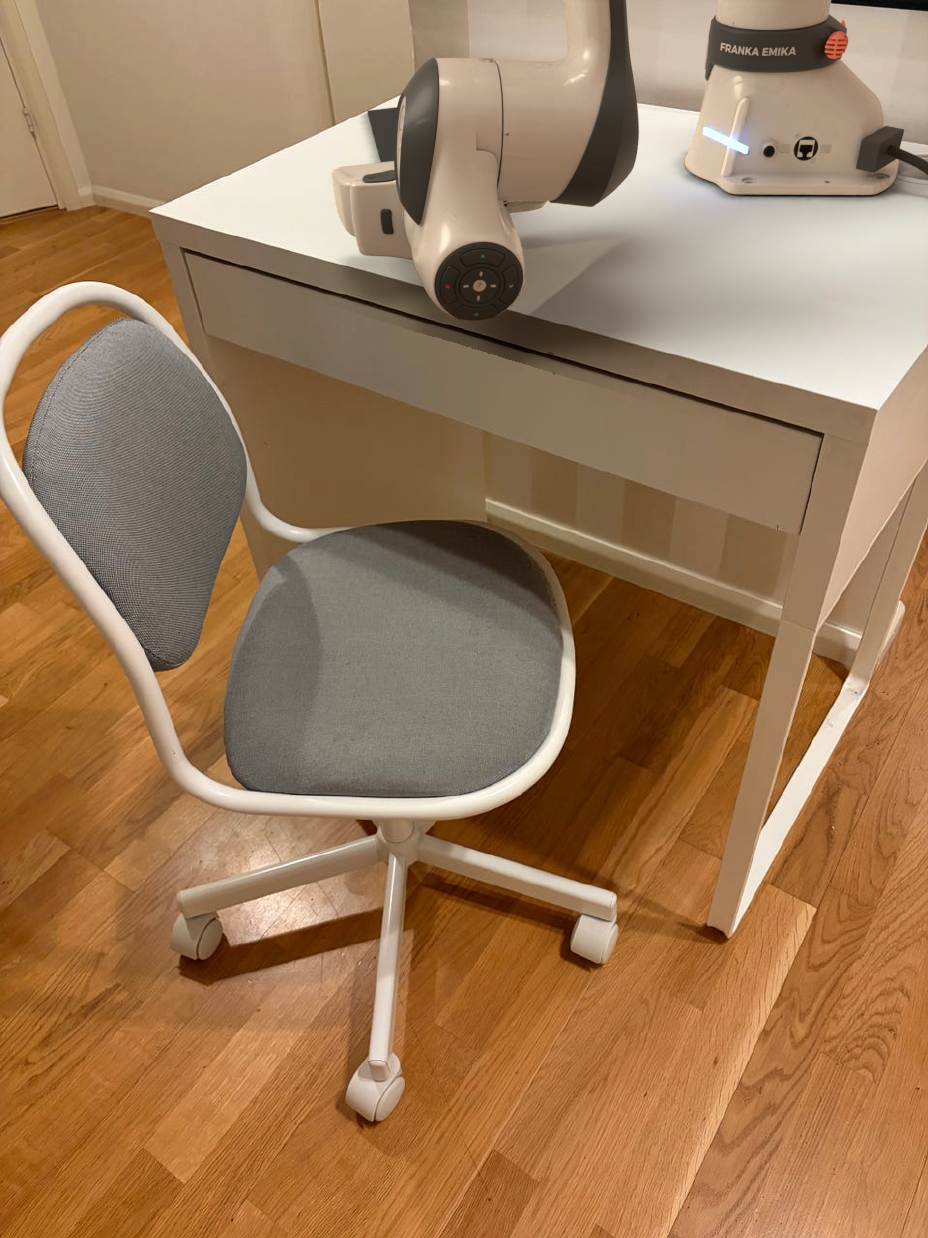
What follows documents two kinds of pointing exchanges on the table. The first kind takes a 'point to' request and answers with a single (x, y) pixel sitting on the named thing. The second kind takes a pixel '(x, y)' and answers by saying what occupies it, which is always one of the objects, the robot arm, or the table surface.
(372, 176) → the robot arm
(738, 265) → the table surface
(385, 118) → the mat
